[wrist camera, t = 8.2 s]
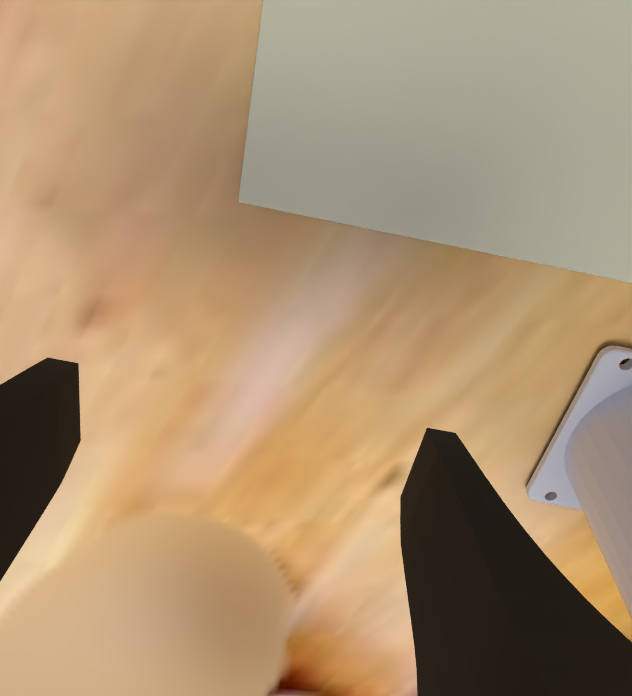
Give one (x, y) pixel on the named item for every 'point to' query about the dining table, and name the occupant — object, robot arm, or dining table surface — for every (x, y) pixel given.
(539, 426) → the dining table surface
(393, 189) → the felt mat
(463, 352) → the dining table surface
